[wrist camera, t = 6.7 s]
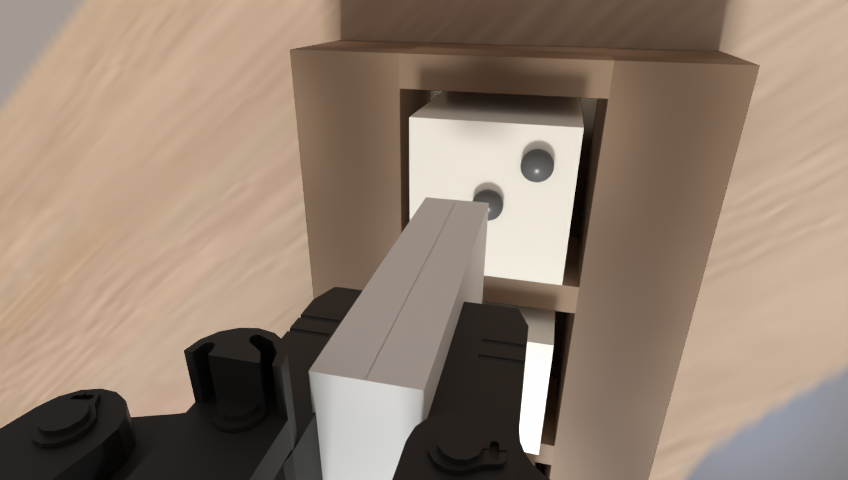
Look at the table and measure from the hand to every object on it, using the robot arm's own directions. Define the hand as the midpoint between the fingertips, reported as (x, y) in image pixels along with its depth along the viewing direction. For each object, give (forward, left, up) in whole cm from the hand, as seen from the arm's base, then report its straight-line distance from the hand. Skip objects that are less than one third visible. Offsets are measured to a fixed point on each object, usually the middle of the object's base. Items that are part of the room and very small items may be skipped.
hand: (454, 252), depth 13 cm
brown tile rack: (0, -7, -8) cm, 11 cm away
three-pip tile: (0, 0, -8) cm, 8 cm away
